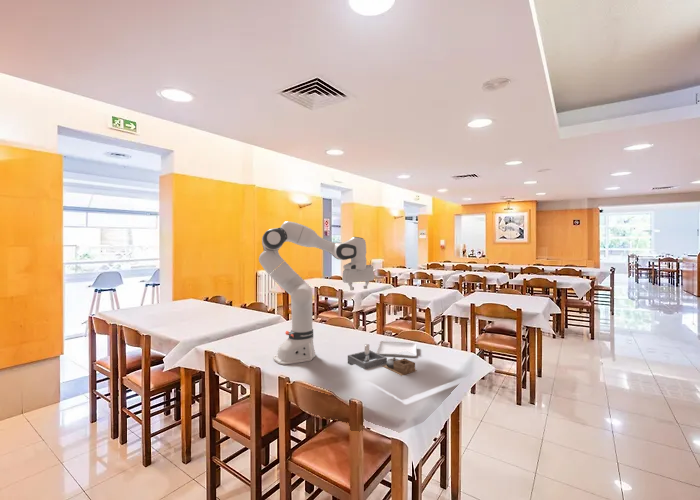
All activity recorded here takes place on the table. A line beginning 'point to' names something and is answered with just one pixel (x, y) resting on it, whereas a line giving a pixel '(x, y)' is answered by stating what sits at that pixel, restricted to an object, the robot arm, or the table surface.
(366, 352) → the lock pin
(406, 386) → the table surface
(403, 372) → the pulley bracket
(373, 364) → the tray
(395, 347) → the salad plate
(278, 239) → the robot arm
